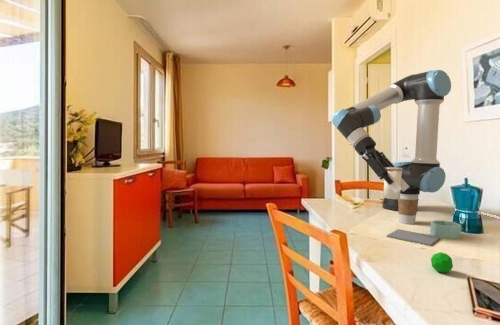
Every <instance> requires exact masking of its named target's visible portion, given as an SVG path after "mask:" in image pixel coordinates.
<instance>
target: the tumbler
mask: <svg viewBox="0 0 500 325" xmlns="http://www.w3.org/2000/svg"><path fill="white" fill-rule="evenodd" d="M384 168H385V170H386V171H387V172H388V175H389V174H391V176H392V177H393V178H394V179H395V180H396V181H397V183H398V184H399V185H400V186H401V176H402V170H403V168H399V167H384ZM400 191H401V190H400ZM400 191H399V192H397V193H395V192H394V191H393V189H392V188H391V187H390V186H389V185H388V183H387V182H386V181H385V180H384V179H383V197H382V198H383V199H384V198H387V199H400Z"/></svg>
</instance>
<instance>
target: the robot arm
mask: <svg viewBox="0 0 500 325" xmlns="http://www.w3.org/2000/svg"><path fill="white" fill-rule="evenodd" d="M451 90H452V81H451V78H450V76H449V75H448V73H447V72H446V71H444V70H442V69H436V70H434V69H433V70H428V71H424V72H420V73H415V74H410V75H407V76H405V77H403V78H400V79H399V80H397V81H395V82H393V83H392V84H391V83H390V85H388V86H387V87H386V89H384V90H382V91H380V92H377V93H376V94H374V95H372V96H370V97H368V98H365V99H364V100H362V101H359V102H358V103H356V104H353V105H352V106H350V107H348V108H346V109H344V108H342V109H340V110H338V111H335V112H334V113H333V115H332V117H331V122H332V124H333V126H334V127H335V128H336V129H337V130H338V131H339V133H341V135H342V136H343V138H345V139H346V140H347V142H348V143H349V144H348V145H349V146H351V147H353V149H354V151H356V153H357V155H358V156H361V158H362V160H363V161H364V162H366V163H367V165H368V166H369V168H370V169H371V170H372V171H373V172H374V173H375V175H376V176H377V177H378V178H379V180H383V181H384V180H385V181H386V182H387V183H388V185H389V186H390V187H391V188H392V189H393V191H394V192H395V193H397V192H399V191H400V190H402V191H405V190H406V189H407V188H409V186H418V187H419V190H420V192H423V193H436V192H438V191H439V190H440V189H441V188H442V187H443V186H444V184H445V181H446V171H445V170H444V168H442V167H441V162H440V161H439V160H438V159H437V154H438V153H437V152H438V137H439V120H440V107H441V106H440V105H442V103H444V101H445V97H446V96H447V95H449V94H450V92H451ZM411 100H412V101H414V103H415V104H416V105H417V116H416V118H417V119H416V132H415V134H416V138H415V154H414V155H415V156H414V159H412V160H410V161H398V162H397V161H396V162H391V160H389V158H388V157H387V156H386V155H385V154H384V152H383V151H379V150H378V149H376V148H375V147H376V145H377V143H376V141H375V140H374V139H373V138H372V137H371V136H370V134H369V133H368V132H367V131H366V130H365V128H367V127H369V126H373V125H375V124H377V123H378V122H380V120H381V117H382V114H381V111H382V110H385V109H386V108H387V107H390V106H391V105H393V104H394V105H398V104H401V103H402V102H406V101H411ZM384 167H399V168H403V170H402V176H401V186H400V185H399V184H398V183H397V181H396V180H395V179H394V178H393V177H392V176H391V174H389V175H388V172H387V171H386V170H385V168H384ZM381 205H382V209H386V210H390V211H398V212H399V209H398V199H387V198H384V197H383V200H382V203H381Z"/></svg>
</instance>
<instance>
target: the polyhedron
mask: <svg viewBox="0 0 500 325" xmlns="http://www.w3.org/2000/svg"><path fill="white" fill-rule="evenodd" d="M430 263H431V264H430V265H431V267H432V268H433V269H434V270H435V271H436V272H438V273H440V274H441V273H442V274H445V273H447V272H450V271H451V270H452V269H453V268H454V263H453V259H452V257H451V256H450V255H449V254H447V253H445V252H437V253H434V254H432V256H431V258H430Z"/></svg>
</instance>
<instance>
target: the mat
mask: <svg viewBox="0 0 500 325" xmlns="http://www.w3.org/2000/svg"><path fill="white" fill-rule="evenodd" d="M386 238H391V239H394V238H395V240H401V241H404V242H409V241H410V242H409V243H413V242H415V244H418V243H420V245H423V244H424V245H423V246H428V247H432V246H433V245H434V244H435V243H437V242H439V240H441V238H440V237H437V236H434V235H432V234H424V233H421V232H415V231H411V230H404V229H400V228H399V229H396V230H394V231H392V232H390V233H388V234H386Z"/></svg>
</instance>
